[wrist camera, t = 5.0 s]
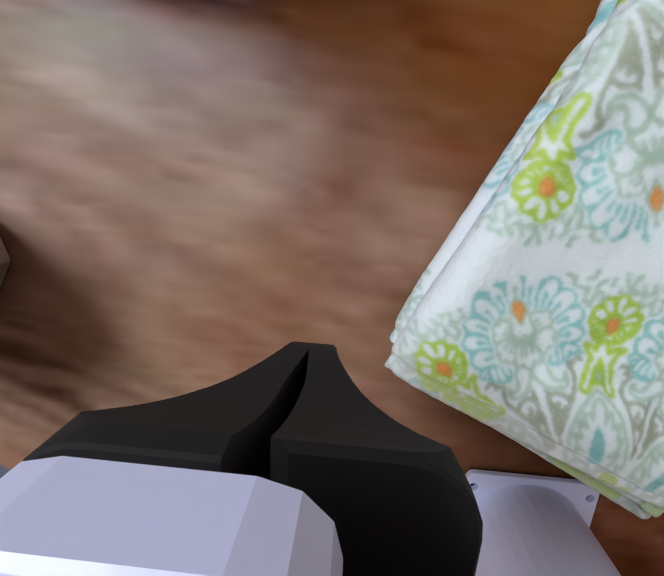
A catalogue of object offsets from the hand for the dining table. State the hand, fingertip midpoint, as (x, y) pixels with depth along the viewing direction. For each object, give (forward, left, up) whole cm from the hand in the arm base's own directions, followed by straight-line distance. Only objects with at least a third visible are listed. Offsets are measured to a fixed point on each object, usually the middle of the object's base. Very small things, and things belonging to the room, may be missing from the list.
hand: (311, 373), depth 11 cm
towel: (+2, -15, -10) cm, 19 cm away
